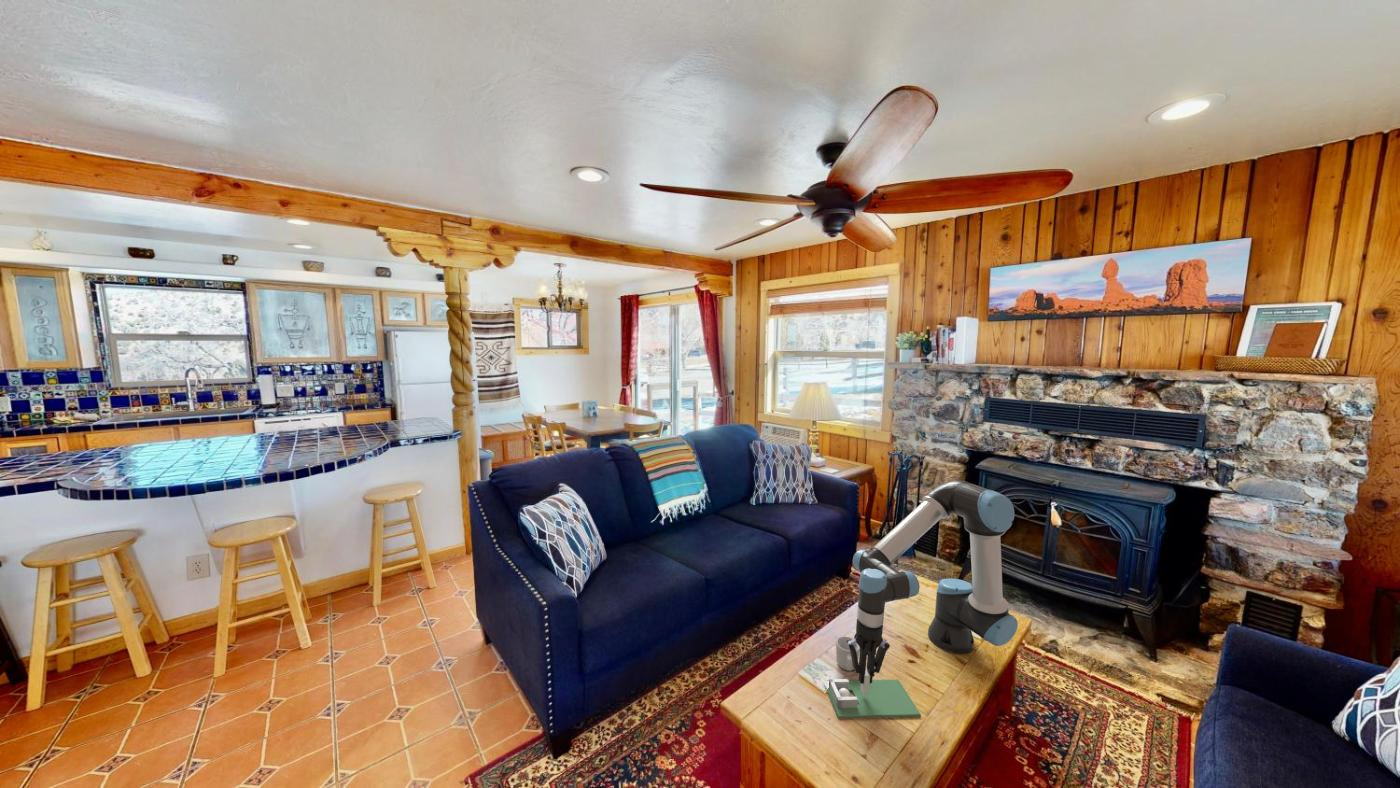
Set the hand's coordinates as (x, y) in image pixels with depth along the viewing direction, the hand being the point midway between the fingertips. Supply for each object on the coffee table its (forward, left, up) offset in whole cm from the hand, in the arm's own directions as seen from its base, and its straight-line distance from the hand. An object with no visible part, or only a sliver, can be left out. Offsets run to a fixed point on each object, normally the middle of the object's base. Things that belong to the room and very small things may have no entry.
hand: (864, 691), depth 142 cm
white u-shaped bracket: (+7, 0, -3) cm, 7 cm away
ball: (+6, 0, -1) cm, 6 cm away
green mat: (-2, 0, -3) cm, 3 cm away
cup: (0, -14, -3) cm, 14 cm away
